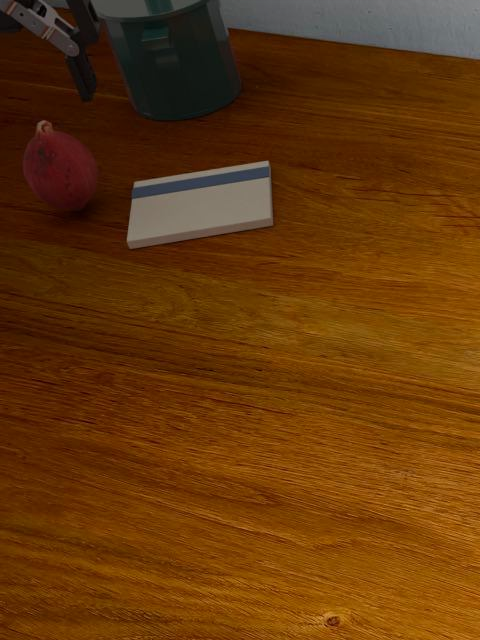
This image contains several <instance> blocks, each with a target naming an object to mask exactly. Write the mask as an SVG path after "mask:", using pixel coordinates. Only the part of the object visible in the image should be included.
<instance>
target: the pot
mask: <svg viewBox="0 0 480 640" xmlns="http://www.w3.org/2000/svg"><path fill="white" fill-rule="evenodd" d="M99 20H100V22H101V25H102V26H101V27H102V28H103V31H104V34H105V36H106V39H107V42H108V44H109V47H110V50H111V52H112V56H113V59H114V61H115V64H116V67H117V69H118V72H119V75H120V77H121V81H122V83H123V86H124V89H125V91H126V93H127V96H128V99H129V102H130V105H132V107H133V110H134V111H135V112H136V113H137V114H138V115H140V116H142V117H144V118H146V119H150V120H154V121H164V122H165V121H166V122H173V121H174V122H175V121H183V120H190V119H194V118H199V117H203V116H206V115H210V114H212V113H215V112H217V111H219V110H222V109H223V108H225V107H227V106H228V105H230V104H231V103H233V101H235V100H236V99H237V98H238V97H239V96H240V94H241V92H242V90H243V82H242V76H241V72H240V68H239V65H238V61H237V58H236V55H235V52H234V47H233V44H232V40H231V37H230V32H229V30H228V26H227V22H226V18H225V15H224V11H223V8H222V5H221V1H220V0H210V1H209V2H207V3H206V4H204V5H202V6H200V7H198V8H196V9H194V10H192V11H189V12H187V13H184V14H181V15H178V16H174V17H170V18H166V19H162V20H156V21H149V22H138V23H123V22H113V21H108V20H105V19H102V18H100V17H99Z"/></svg>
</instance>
